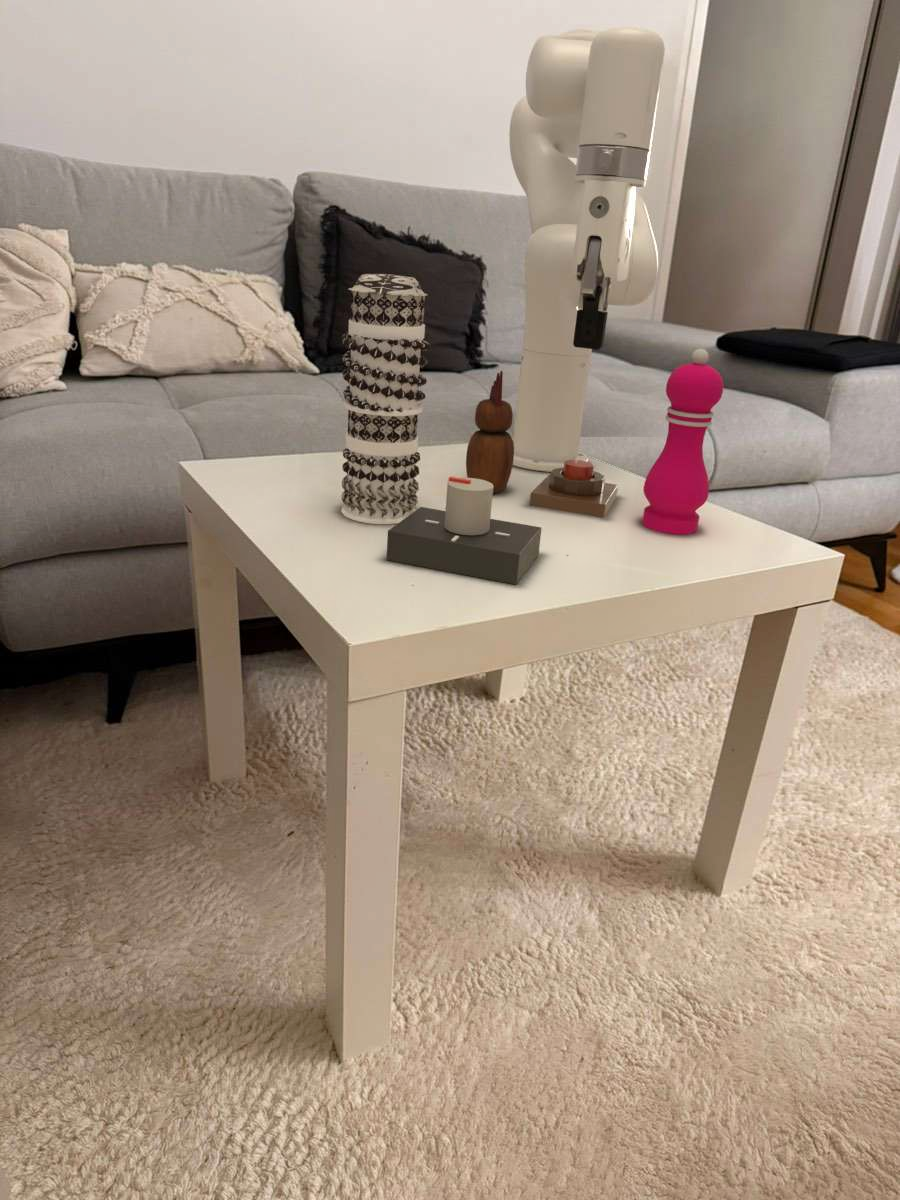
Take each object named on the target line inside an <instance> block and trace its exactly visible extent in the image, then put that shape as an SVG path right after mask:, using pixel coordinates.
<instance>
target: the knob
mask: <svg viewBox="0 0 900 1200" xmlns="http://www.w3.org/2000/svg"><path fill="white" fill-rule="evenodd" d="M446 485H447V486H446V497H445V499H446V500H445V510H444V511H445V525H444V527H445V529H446V530H448V531H450V532H452V533H456V534H460V535H470V536H474V535H482V534H485V533H487V532H488V531H489V528H490V519H491V517H492V506H493V496H494V495H493V494H494V493H493V484H492V483H490V482H488V481H485V480H481V479H475V478H467V477H456V476H449V477H448V481H447V483H446Z"/></svg>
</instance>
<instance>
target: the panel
mask: <svg viewBox="0 0 900 1200" xmlns="http://www.w3.org/2000/svg"><path fill="white" fill-rule="evenodd" d="M445 511H446V510H441V509H436V508H432V507H431V508H430V507H425V506H420V507H418V508H417V509H416V511H414V512H413V513H412V514H410V515H409V516H408V517H406V518H405V519H403V520H402V521H401V522H399V523H396V524H395V525H394V526H392V527H391V528H390V529H388V530H387V541H386V561H389V562H396V563H401V564H406V565H410V566H417V567H421V568H428V569H432V570H437V571H442V572H447V573H454V574H457V575H464V576H470V577H474V578H479V579H483V580H484V579H485V580H490V581H495V582H501V583H506V584H510V585H517V584H518V583H519V581H520V580H521V579H522V577H524V575H525V574H526V572H527V571H528V570H529V568H530V567H531V565H532V564H533V563H534V562H535V560H536V559H537V558H538V556H539V553H540V546H541V537H542V527H540V526H537V525H536V526H535V525H530V524H523V523H517V522H511V521H507V520H500V519H494V518H490V528H489V531H488V532H487V533H485V534H482V535H474V536H470V535H460V534H456V533H452V532H450V531H448V530H446V529H445V527H444V525H445Z"/></svg>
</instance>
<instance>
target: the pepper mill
mask: <svg viewBox="0 0 900 1200" xmlns="http://www.w3.org/2000/svg"><path fill="white" fill-rule="evenodd" d="M709 357H710V355H709V353H708V351H707V350H706V349H704V348H698V349H696V350H694V351H693V352H692V354H691V362H692V363H691V362H690V363H686V364H683V365H680V366H678V367H676V368H675V369H674V370H673V371H672V372H671V374H670V375H669V377H668V379H667V381H666V386H665V393H666V397H667V398H668V400H669V402H670V406H668V407H667V408H666V411H667V413H666V415H665V420H666V421H667V422H668V429H667V436H666V439H665V444H664V446H663V448H662V451H661V453H660V454H659V456H658V458H657V459H656V460H655V462H654V463H653V465H652V466H651V468H650V469H649V471H648V472H647V475H646V477H645V481H644V485H643V489H642V490H643V494H644V497H645V499H646V501H648V503H649V505H647V506H645V507H644V509H643V514H642V515H643V516H642V520H641V521H642V525H643V526H644V527H645V528H647V529H649V530H652V531H654V532H658V533H663V534H668V535H675V536H676V535H678V536H685V535H692V534H694V533H696V532H697V530H698V527H699V521H700V515H699V514H698V512H697V510H698V509H700V508H701V507H703V505H705V503H706V502H707V501H708V498H709V490H710V483H709V475H708V473H707V472H708V471H707V469H706V465H705V461H704V450H703V449H704V448H703V446H704V441H705V440H704V439H705V435H706V432H707V429H708V427H710V426H711V425H712V424H713V421H712V419H713V416H714V412H713V411H711V410H712V409H713V408H714V406H716V405H717V404H718V403H719V401H720V400H721V399H722V396H723V394H724V381H723V378H722V376H721V373H720V372H719V371H718V370H716V369H715V368H714V367H713V366H710V365H707V362H708V361H709V359H710V358H709Z"/></svg>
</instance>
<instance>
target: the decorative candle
mask: <svg viewBox="0 0 900 1200" xmlns="http://www.w3.org/2000/svg"><path fill="white" fill-rule="evenodd" d="M348 290H349V291H351V293H350V295H351V296H350V297H351V298H350V299H351V300H350V319H349V320H348V331H346V332H345V333H344V334H343V335H342V336H341V340H342V341H341V343H342V344H343V345H345V346H346V347H347V348H348V349H349V350H348V351H346V352H345V353H344V355H342V358H341V359H342V362H343V364H344V366H345V367H346V368H345V369H343V371H342V379H343V380H344V381H345V382H347V384H348V385H347V386H346V387H345V389H344V390H343V392H342V394H343V398H344V400H345V401H344V402H343V407H344V408H346V410H347V431H346V433H345V448H344V449H343V450H342V457H343V458H344V459H345V460H347V461H345V462H344V463H342V471H343V472H344V473H346V475H344V476H343V478H342V479H341V487H342V489H343V491H342V493H341V501H342V503H343V505H342V507H341V510H340V511H341V513H342V515H343V516H344V517H345V518H348V519H351V520H353V521H355V522H360V523H364V524H372V525H393V524H398V523H399V522H401V521H402V520H403V519H405V518H406V517H408V516H409V515H410V514H412V513H413V512H414V511H416V510H417V509H416V506H417V505H418V503H419V501H418V496H417V492H418V491H419V489H420V487H419V482H418V480H416V477H417V476H418V475H419V474H420V468H419V466H418V465H416V464H417V463H419V462H420V460H421V454H420V452H419V451H418V449H419V436H418V423H419V419H418V418H419V414H421V413H423V408H424V406H423V405H422V404H421V403H420V402H421V401H423V400H425V399H426V393H424V392H423V391H422V390H421V389H419V388H422V387H423V386H425V385H426V384H427V382H428V380H427V379H426V377H424V376H423V375H422V373H420V370H421V369H423V368H424V367H425V366H428V365H429V364H430V360H429V359H428V358H427V357H426V356H425V355H423V353H425V352H427V351H429V350H430V349H431V344H430V343H429V342H427V340H426V339H425V335H426V333H425V332H426V324H425V323H424V315H425V300H426V297H427V296H428V294H427V293H425V291H423V290H422V288H421V286H420V283H419V281H418V280H417V279H416V278H415V277H413V276H407V275H398V274H386V273H363V274H361V275H360V276H359V277H358V278H357V281H356V282H355V284H354V285H353V287H349V288H348ZM420 368H421V369H420Z"/></svg>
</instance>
